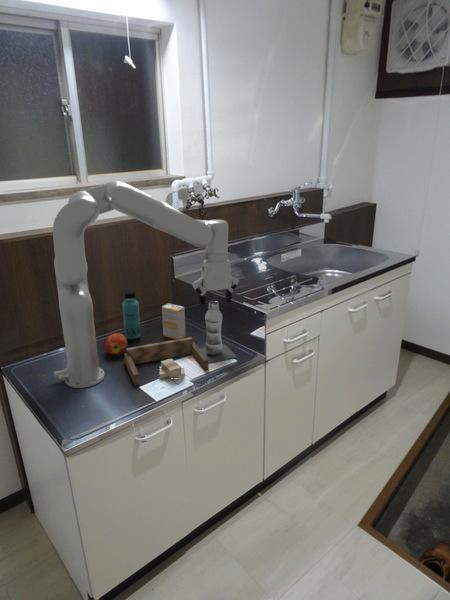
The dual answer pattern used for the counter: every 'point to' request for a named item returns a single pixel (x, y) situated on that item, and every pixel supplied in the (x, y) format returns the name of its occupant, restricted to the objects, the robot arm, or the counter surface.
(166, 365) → the top offcut
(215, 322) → the plastic bottle
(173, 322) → the supplement box
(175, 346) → the frame
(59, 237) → the robot arm
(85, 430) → the counter surface
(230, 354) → the mat
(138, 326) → the beverage bottle
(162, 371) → the bottom offcut
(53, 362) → the counter surface
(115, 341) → the apple
